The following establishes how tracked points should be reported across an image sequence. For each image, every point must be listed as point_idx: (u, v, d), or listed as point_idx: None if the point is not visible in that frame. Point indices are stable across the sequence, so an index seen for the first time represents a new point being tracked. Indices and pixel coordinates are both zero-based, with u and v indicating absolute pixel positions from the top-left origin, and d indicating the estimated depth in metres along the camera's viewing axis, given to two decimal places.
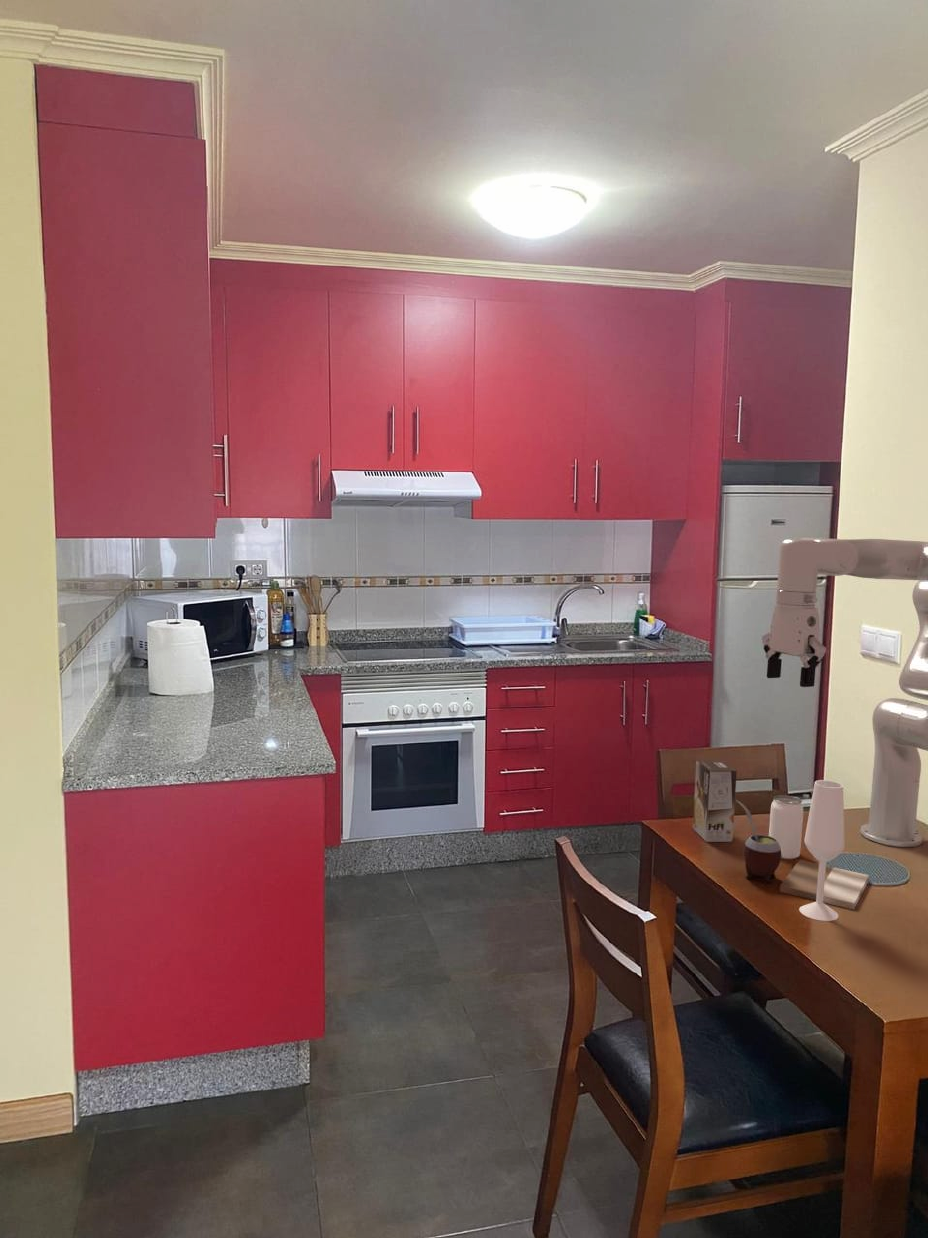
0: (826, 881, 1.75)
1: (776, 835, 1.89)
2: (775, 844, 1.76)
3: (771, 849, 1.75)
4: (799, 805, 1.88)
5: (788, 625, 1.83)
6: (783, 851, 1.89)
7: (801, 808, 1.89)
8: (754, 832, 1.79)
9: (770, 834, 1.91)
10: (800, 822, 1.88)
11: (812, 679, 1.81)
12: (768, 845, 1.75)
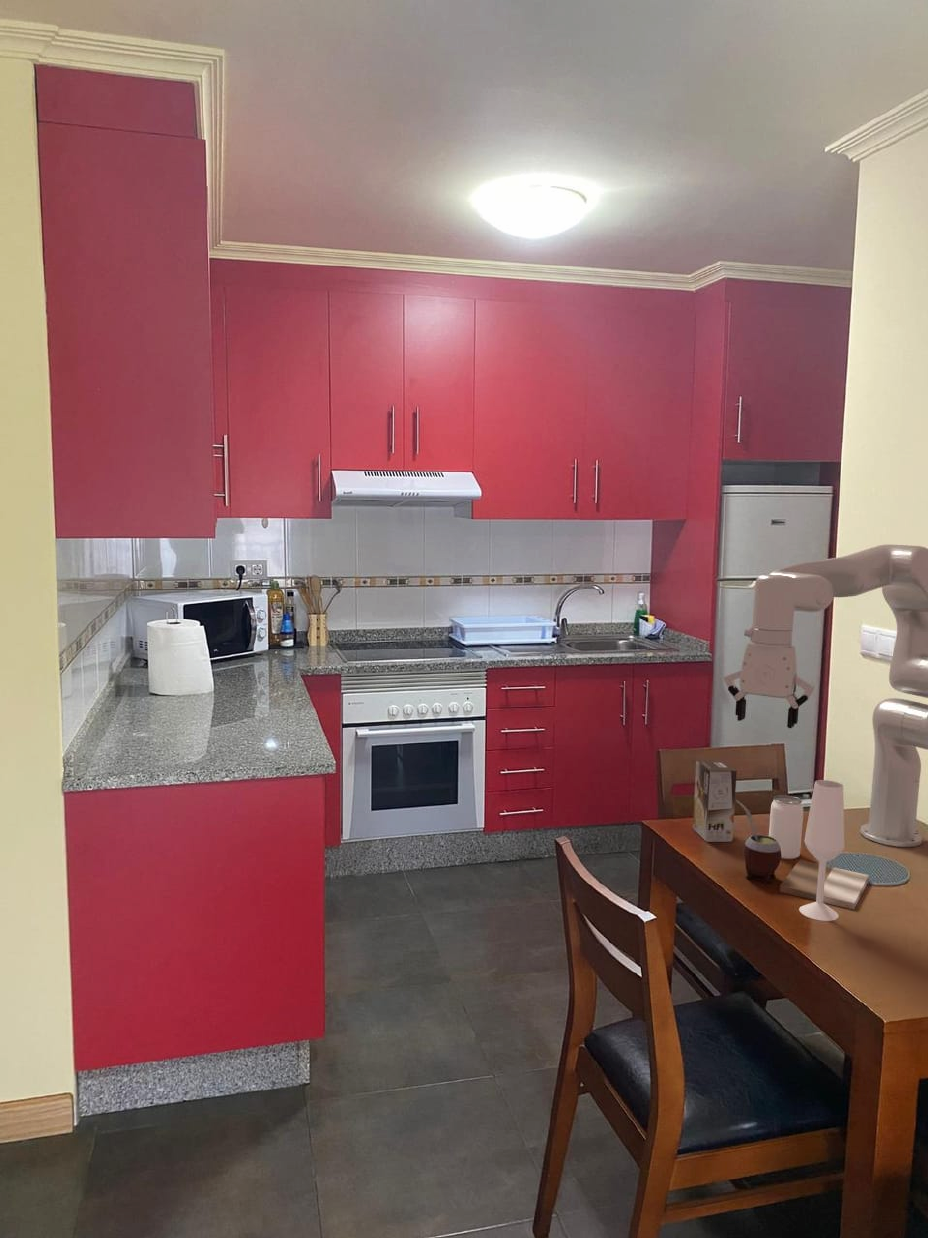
0: (826, 881, 1.75)
1: (776, 835, 1.89)
2: (775, 844, 1.76)
3: (771, 849, 1.75)
4: (799, 805, 1.88)
5: None
6: (783, 851, 1.89)
7: (801, 808, 1.89)
8: (754, 832, 1.79)
9: (770, 834, 1.91)
10: (800, 822, 1.88)
11: None
12: (768, 845, 1.75)
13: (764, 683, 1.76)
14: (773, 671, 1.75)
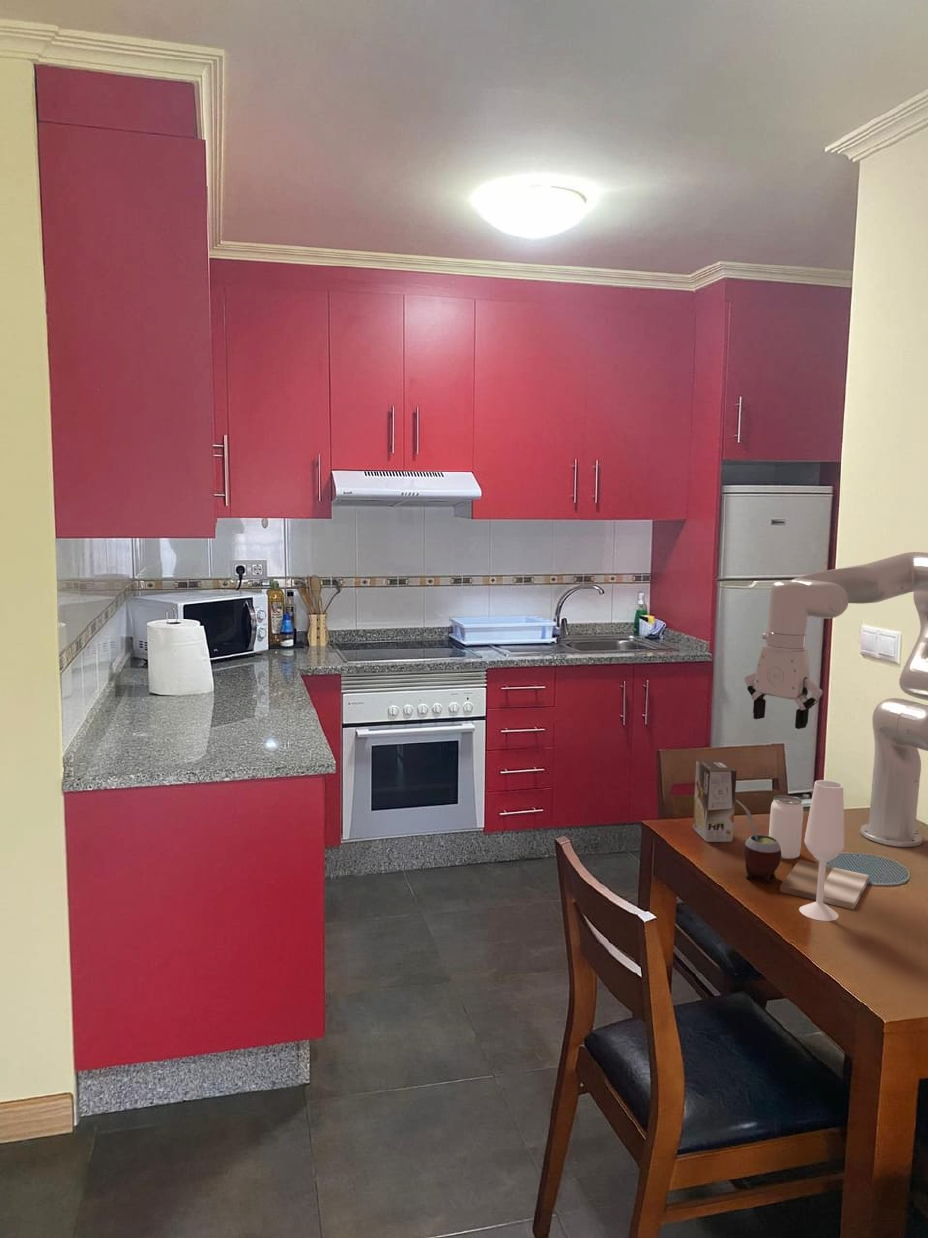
0: (826, 881, 1.75)
1: (776, 835, 1.89)
2: (775, 844, 1.76)
3: (771, 849, 1.75)
4: (799, 805, 1.88)
5: None
6: (783, 851, 1.89)
7: (801, 808, 1.89)
8: (754, 832, 1.79)
9: (770, 834, 1.91)
10: (800, 822, 1.88)
11: None
12: (768, 845, 1.75)
13: (774, 684, 1.85)
14: (782, 673, 1.84)
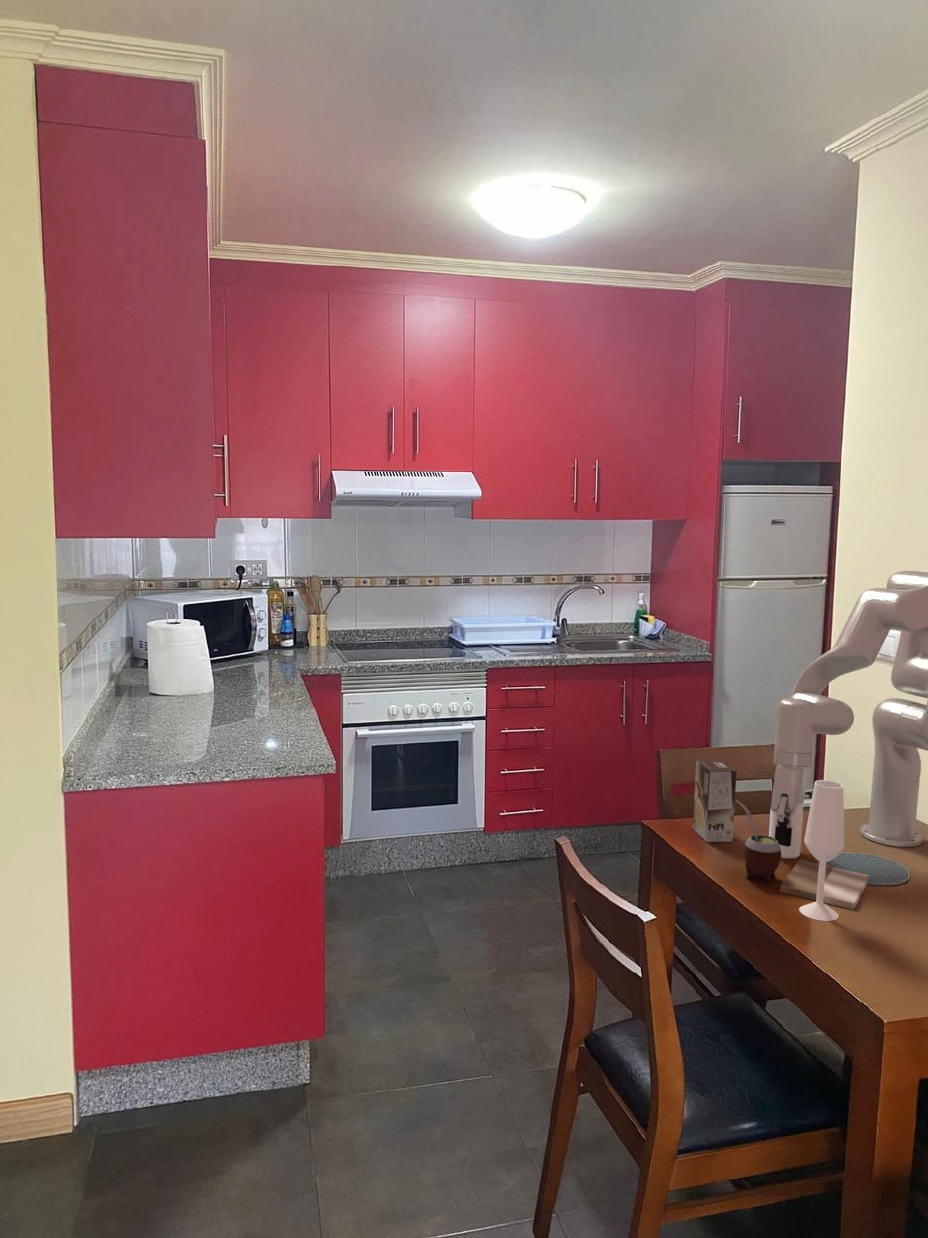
0: (826, 881, 1.75)
1: None
2: (775, 844, 1.76)
3: (771, 849, 1.75)
4: (799, 805, 1.88)
5: (804, 782, 1.90)
6: (783, 851, 1.89)
7: (801, 808, 1.89)
8: (754, 832, 1.79)
9: (770, 834, 1.91)
10: (800, 822, 1.89)
11: None
12: (768, 845, 1.75)
13: None
14: None
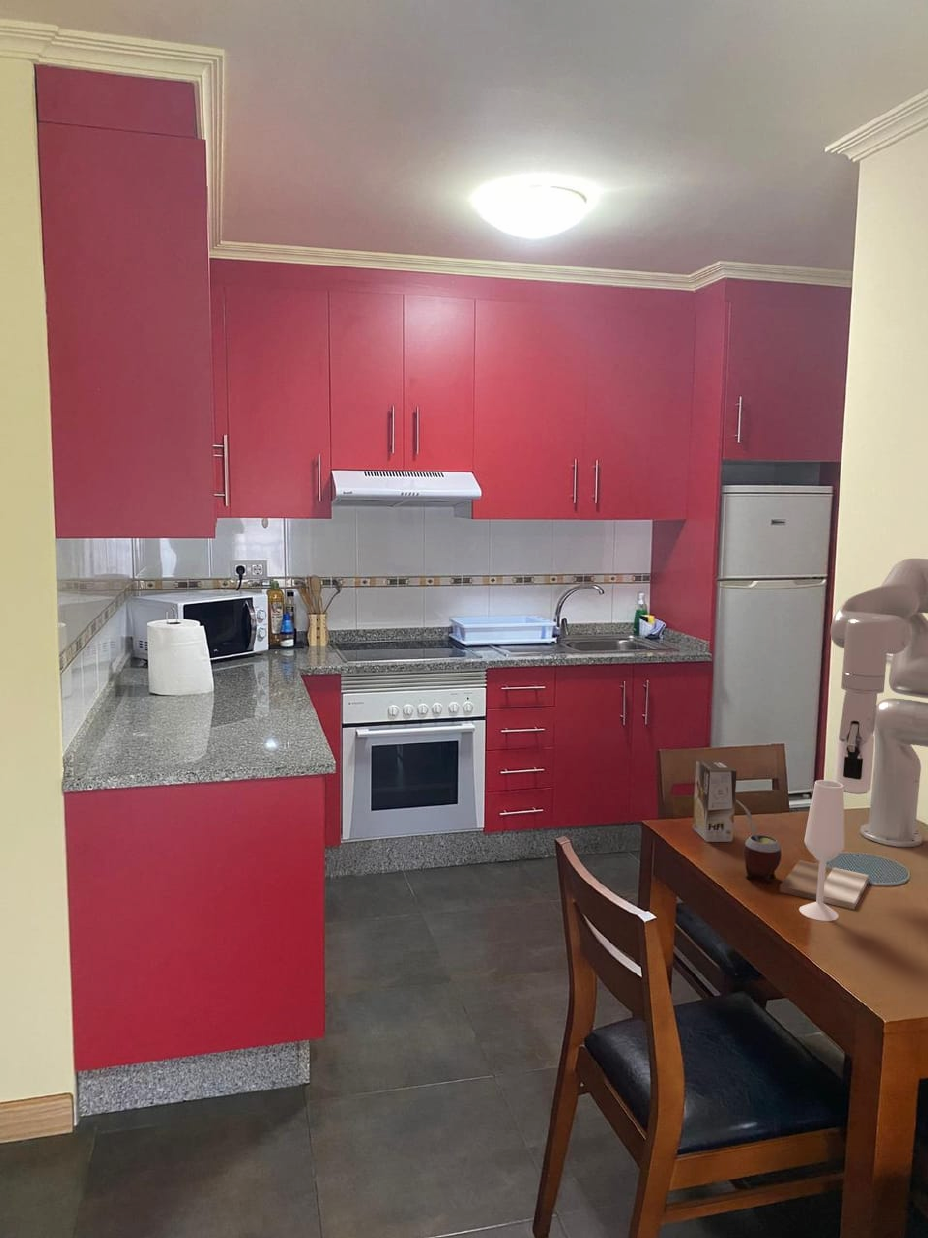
0: (826, 881, 1.75)
1: None
2: (775, 844, 1.76)
3: (771, 849, 1.75)
4: (870, 734, 1.72)
5: (875, 709, 1.73)
6: (853, 785, 1.72)
7: (872, 737, 1.72)
8: (754, 832, 1.79)
9: (837, 767, 1.74)
10: (871, 752, 1.72)
11: None
12: (768, 845, 1.75)
13: None
14: None
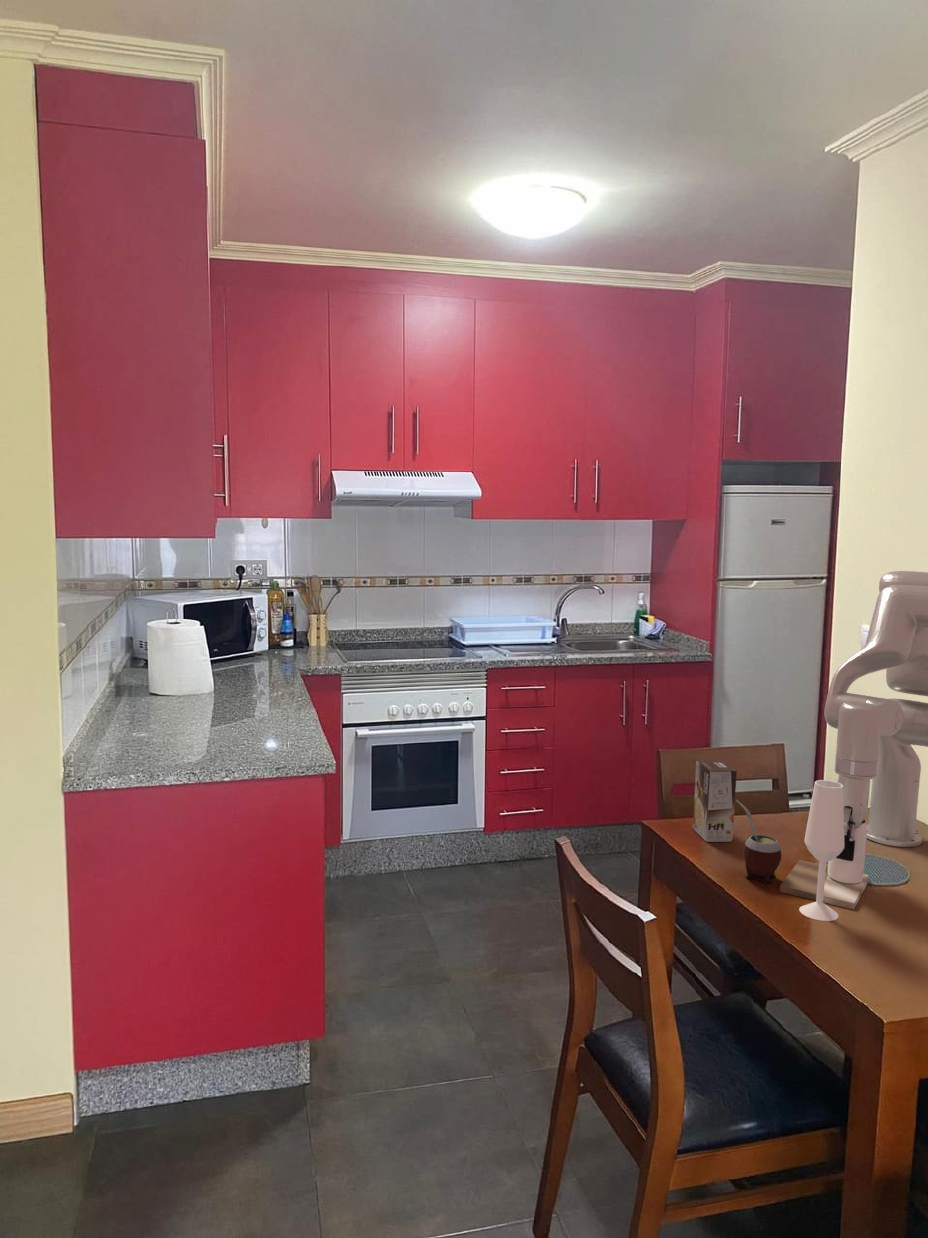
0: (826, 881, 1.75)
1: (838, 859, 1.74)
2: (775, 844, 1.76)
3: (771, 849, 1.75)
4: (863, 825, 1.73)
5: (868, 793, 1.75)
6: (846, 876, 1.73)
7: (865, 829, 1.73)
8: (754, 832, 1.79)
9: None
10: (864, 844, 1.73)
11: None
12: (768, 845, 1.75)
13: None
14: None
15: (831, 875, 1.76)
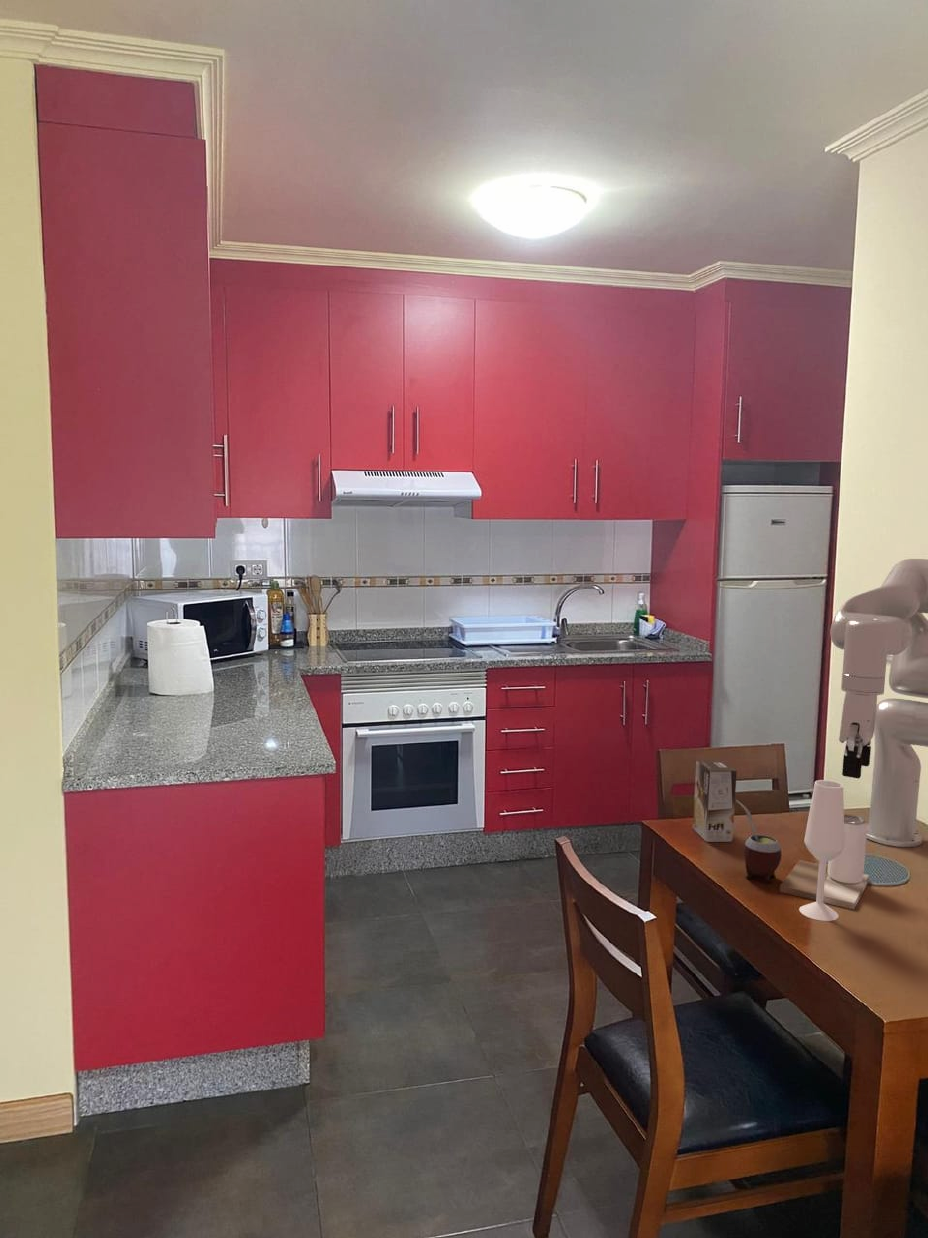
0: (826, 881, 1.75)
1: (838, 859, 1.74)
2: (775, 844, 1.76)
3: (771, 849, 1.75)
4: (863, 825, 1.73)
5: (875, 711, 1.73)
6: (846, 876, 1.73)
7: (865, 829, 1.73)
8: (754, 832, 1.79)
9: None
10: (864, 844, 1.73)
11: None
12: (768, 845, 1.75)
13: None
14: None
15: (831, 875, 1.76)
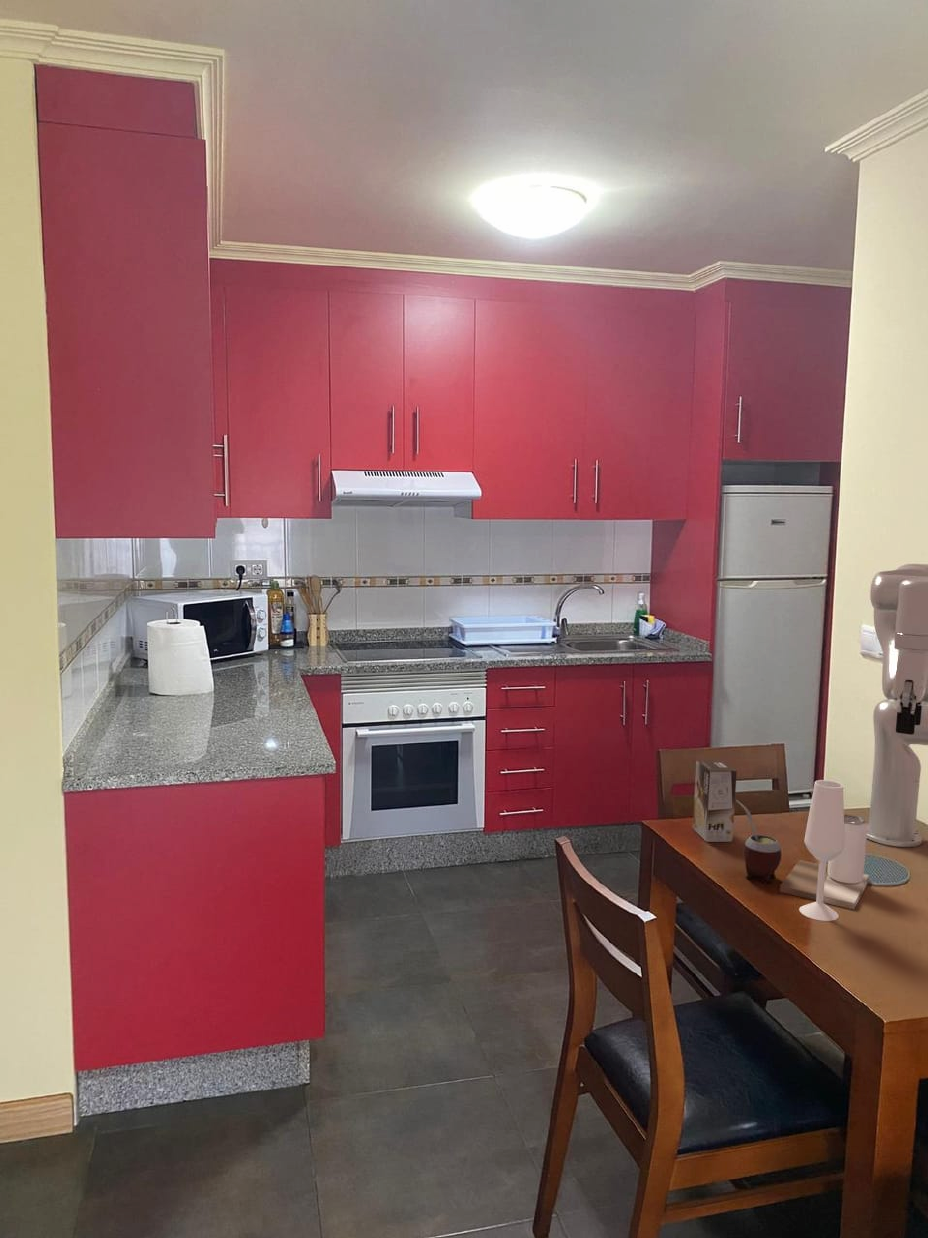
0: (826, 881, 1.75)
1: (838, 859, 1.74)
2: (775, 844, 1.76)
3: (771, 849, 1.75)
4: (863, 825, 1.73)
5: None
6: (846, 876, 1.73)
7: (865, 829, 1.73)
8: (754, 832, 1.79)
9: None
10: (864, 844, 1.73)
11: None
12: (768, 845, 1.75)
13: None
14: None
15: (831, 875, 1.76)
